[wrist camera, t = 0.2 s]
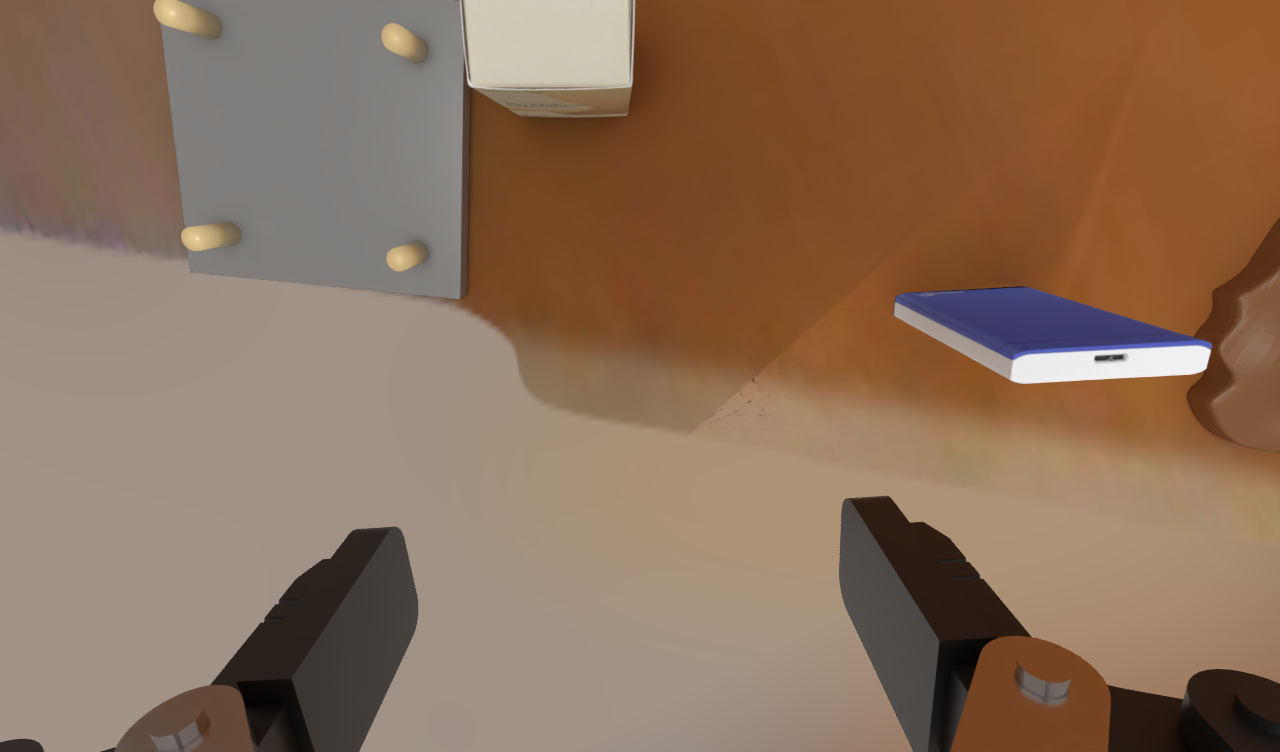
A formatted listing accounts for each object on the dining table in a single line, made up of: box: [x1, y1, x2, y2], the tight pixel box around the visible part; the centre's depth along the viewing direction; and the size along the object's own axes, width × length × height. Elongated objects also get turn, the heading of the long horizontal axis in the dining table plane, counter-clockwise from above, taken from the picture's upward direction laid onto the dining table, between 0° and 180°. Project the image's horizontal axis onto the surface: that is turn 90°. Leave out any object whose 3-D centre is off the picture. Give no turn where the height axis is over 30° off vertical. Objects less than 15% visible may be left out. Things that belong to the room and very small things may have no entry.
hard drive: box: [894, 286, 1212, 384], centre depth 32 cm, size 2×8×12 cm, turn 93°
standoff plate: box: [154, 0, 470, 299], centre depth 32 cm, size 15×15×4 cm
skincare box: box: [460, 0, 635, 118], centre depth 28 cm, size 6×4×12 cm
